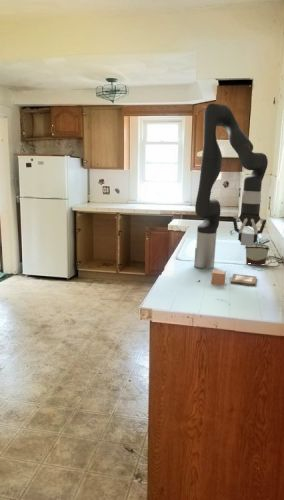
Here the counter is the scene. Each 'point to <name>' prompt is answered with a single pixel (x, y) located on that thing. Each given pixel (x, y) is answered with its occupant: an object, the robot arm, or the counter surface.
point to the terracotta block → (218, 277)
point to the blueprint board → (243, 279)
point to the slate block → (247, 238)
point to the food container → (256, 253)
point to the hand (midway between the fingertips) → (247, 242)
